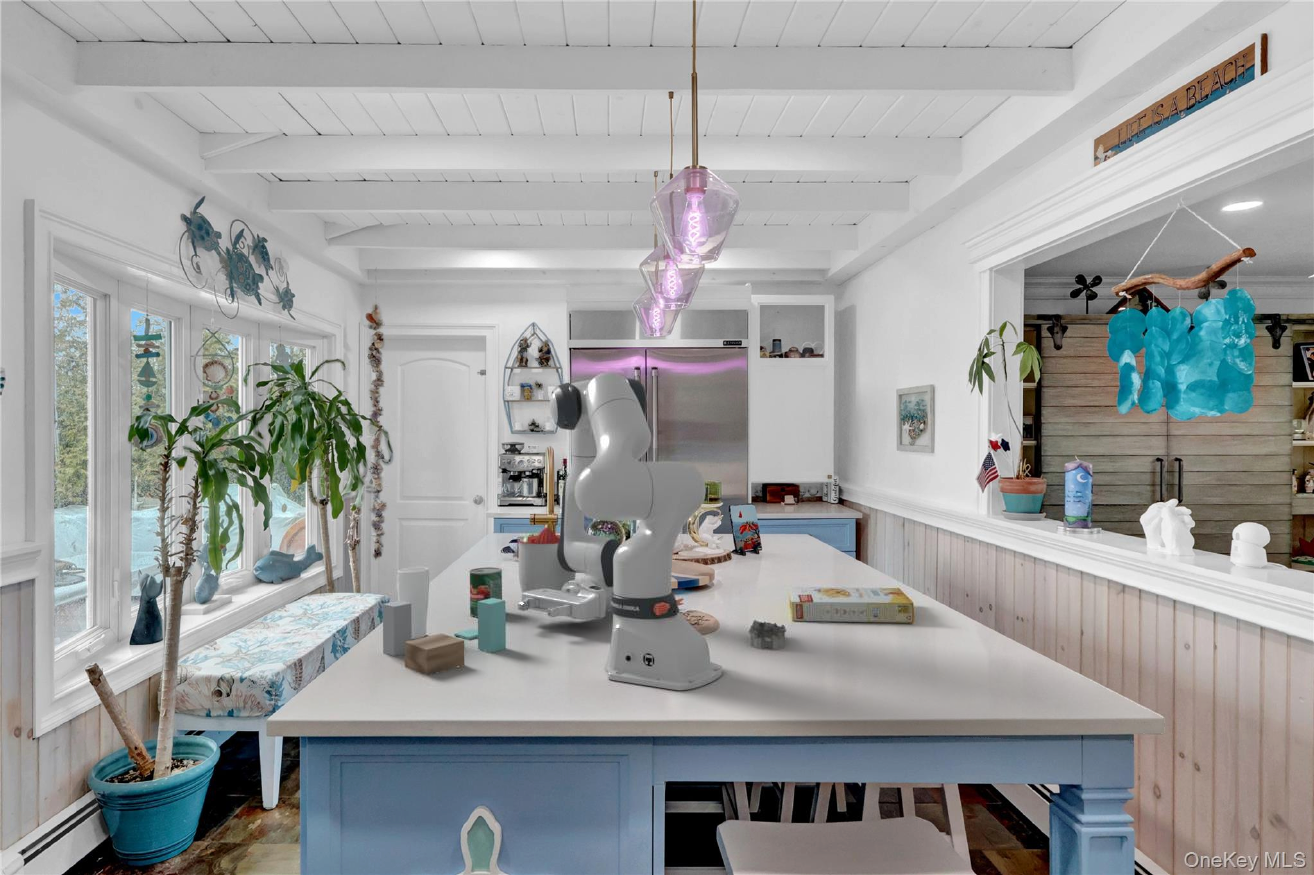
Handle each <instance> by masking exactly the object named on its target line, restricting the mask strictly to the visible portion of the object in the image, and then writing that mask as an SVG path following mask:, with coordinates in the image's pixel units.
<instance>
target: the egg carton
mask: <svg viewBox="0 0 1314 875" xmlns="http://www.w3.org/2000/svg"><path fill="white" fill-rule="evenodd" d="M786 632H787V629H786V625H784V624H782V625H780V626H779V625H778V624H777V623H776V622H774V623H771V622H766V621H763V622H762V621H758V620H755V619H754V620H753V622H752V625H750V628H749V630H748V634H749V635H750V647H752V648H755V649H757V650H758V649H761V650H762V649H765V648H764V647H769V648H768V649H772V650H774V651H775V650H780V649H784V647H785V640H786V639H785V638H786V637H785V635H786V634H785V633H786ZM760 636H761V637H760Z"/></svg>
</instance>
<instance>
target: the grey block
mask: <svg viewBox="0 0 1314 875" xmlns="http://www.w3.org/2000/svg"><path fill="white" fill-rule="evenodd" d="M411 640H413V639H412V623H411V603H408V602H404V601H398V600H396V601H391V602H387V603H383V604H382V653H383V654H385V655H389V656H391V657H397V656H402V655H405V642H407V641H411Z"/></svg>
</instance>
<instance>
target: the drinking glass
mask: <svg viewBox="0 0 1314 875" xmlns="http://www.w3.org/2000/svg"><path fill="white" fill-rule="evenodd" d="M396 573H397V574H396V588H397V589H396V590H397V592H396V593H397V601H404V602H408V603H411V623H412V640H415V639H420V638H424V637H426V636H427V624H428V622H427V621H428V609H429V608H428V607H429V597H430V596H429V595H430V568H429V567H425V566H410V567H409V566H407V567H406V566H405V567H402V568H399V569H398V570H397V572H396Z"/></svg>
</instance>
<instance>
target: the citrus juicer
mask: <svg viewBox="0 0 1314 875" xmlns="http://www.w3.org/2000/svg"><path fill="white" fill-rule="evenodd" d="M559 538H560V534H555V531H553V530H552V529H551V528H550V527H544V528H543V529H542V530H541V531H540V532H539V534H538V535H531V536H527V541H522V540H520V539H517V540H516V542H517V544H516V545H517V549H516V550H517V551H515V552H514V553H512V554H513V555H512V558H517V560H518V581H519V586H520V590H521V595H522V594H523V593H524V592H526V591H531V590H537V589H553V590H559V591H561V589H562V587H563V586H564V584H565V583H567V582H569V581H572V580H576V573H575V572H568V571H566V570H564V569H563V568H562V567H561V565H560V563H559V561H558V558H557V547H558V542H559Z"/></svg>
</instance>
